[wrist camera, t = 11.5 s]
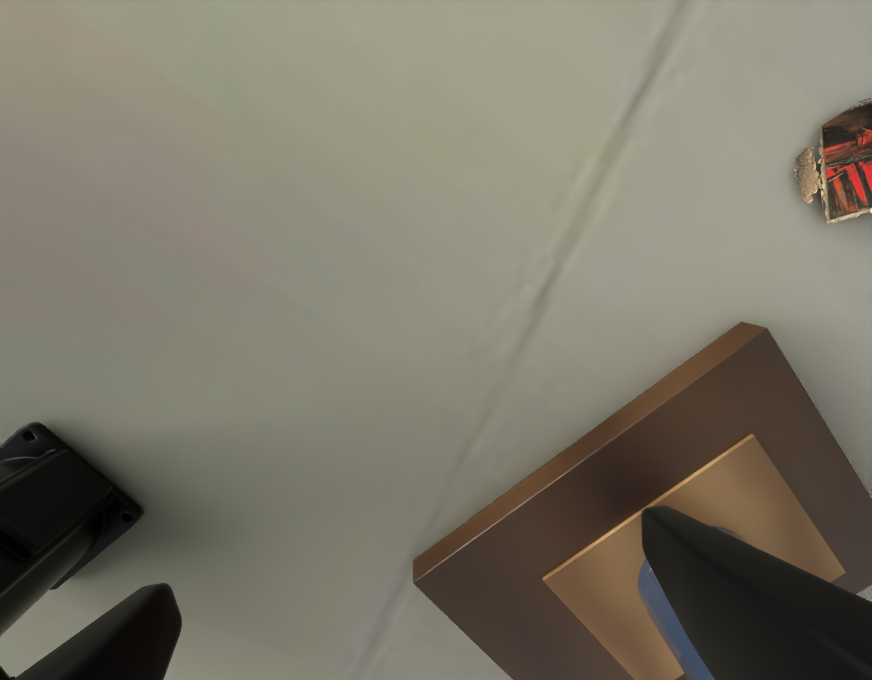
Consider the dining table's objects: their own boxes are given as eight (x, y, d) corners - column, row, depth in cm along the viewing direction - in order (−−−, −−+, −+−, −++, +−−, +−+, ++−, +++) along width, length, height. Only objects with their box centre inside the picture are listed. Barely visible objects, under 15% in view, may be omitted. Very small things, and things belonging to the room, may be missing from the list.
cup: (675, 642, 22) (806, 846, 14) (614, 572, 20) (724, 756, 13) (774, 580, 21) (963, 761, 14) (717, 503, 20) (892, 657, 12)
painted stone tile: (889, 82, 17) (902, 78, 17) (920, 195, 18) (933, 194, 18) (783, 145, 18) (793, 143, 17) (820, 251, 19) (830, 252, 18)
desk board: (582, 727, 25) (594, 761, 24) (412, 560, 22) (412, 586, 20) (879, 540, 23) (915, 564, 21) (741, 320, 19) (771, 328, 18)
